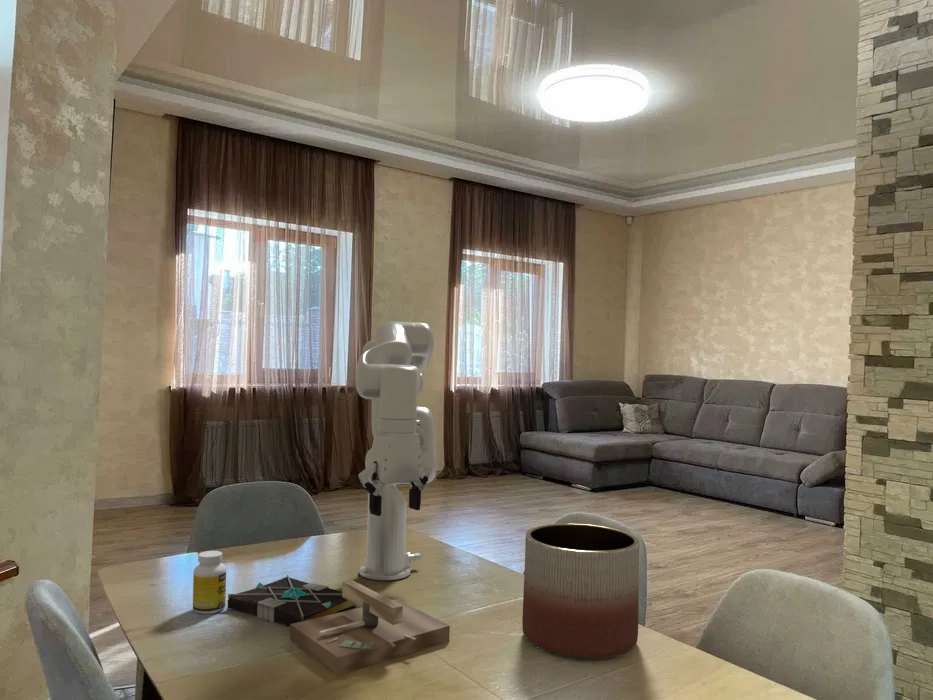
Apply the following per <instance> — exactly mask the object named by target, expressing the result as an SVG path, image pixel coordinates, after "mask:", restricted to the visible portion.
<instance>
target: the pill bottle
mask: <svg viewBox="0 0 933 700" xmlns="http://www.w3.org/2000/svg"><path fill="white" fill-rule="evenodd" d="M197 559H198V561H197V562H198V563H199V564H198V565H197V566H195V568H194V569H193V574H192V575H193V578H192V579H193V581H192V582H193V583H192V610H193V612H195V613H197V614H201V615H211V614H216V613H219V612H221V611H223V610H224V609H225V608H226V601H227V599H226V597H227V596H226V594H227V593H226V592H227V567H226V565H225V564H224V563H223V562H222V563H221V561H222V560H223V552H221V551H219V550H207V551H202V552H200V553H199V554H198V557H197Z"/></svg>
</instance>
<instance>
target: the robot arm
mask: <svg viewBox="0 0 933 700" xmlns="http://www.w3.org/2000/svg"><path fill="white" fill-rule="evenodd" d="M434 338H435V337H434V333H433V331H432V328H431V327H430V326H429V325H428V324H427V323H424V322H414V321H412V322H411V321H387V322H384V323H382V324H380V325H379V326H378V327H377V329H376V330H375V334H374V339H372V340H369V341H367V342H365V344H364V345H363V348H362V354H360V356H359V358H358V360H357V364H356V370H355V387H356V388H355V389H356V391H357V394H358V395H359V397H361V398H362V399H365V400H371V433H372V437H373V442H372V446H371V448H370V449H369V450H368V451H367V452H366V454H365V460H364V462H365V463H364V465H365V466H364V467H365V469H363V470H362V471H361V472H359V473H358V474H357V475H358V476H357V477H358V479H359V481H360V483H361V485H362V488H363V489H364V490H365V491H366V492H367V525H366V526H367V527H366V555H365V557H366V561H365V563H364V564H363V565H361V566H360V568H359V575H360V576H361V577H363V578H365V579H368V580H374V581H396V580H401V579H405V578H407V577H409V575H411V573H412V567H411V566H410V565H409V564H411V563H412V562H414V563H415V562H419V561H421V560H422V555H421V553H420V552H416V553H415V552H414V553H412V554H411V552H409V551H408V552H406V535H407V533H406V532H407V529H406V528H407V527H406V526H407V500H406V498H405V496H404V495H403V493H402V492H401V491H400V490H399V488H397V485H404V484H406V485H408V484H409V485H410V487H411V488H409V490H408V491H409V492H408V495H409V496H408V507H409V509H412V510H415V511H420V510H421V504H422V503H421V501H422V491H423V490H424V489H425V485H426V484H429V483H432V482H433V481H434V480H435V477H436V474H437V450H436V448H437V447H436V431H435V429H436V427H435V420H434V416H433V413H432V411H431V409H429V408H428V407H425V406H421V405H420V406H419V405H418V397H419V395H420V394H421V393H422V392H423V389H424V388H423V387H424V374H423V373H422V372H424V371H425V370H427V368H428V367H429V365H430V361H431V358H432V355H433V351H434V345H435V339H434Z"/></svg>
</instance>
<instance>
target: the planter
mask: <svg viewBox="0 0 933 700" xmlns="http://www.w3.org/2000/svg"><path fill="white" fill-rule="evenodd" d="M524 544H525V546H524V551H525V552H524V576H523V595H522V597H523V599H522V600H523V601H522V626H521V627H522V633H523V635H524V637H525V638H526V639H527V641H529V642H530V643H531V644H533V645H534V646H535V647H537V648H538V649H540V650H542V651H544V652H546V653H548V654H551V655H554V656H557V657H561V658H565V659H566V658H567V659H571V660H577V661H578V660H581V661H597V660H598V661H601V660H609V659H613V658H617V657H620V656H621V655H624V654H626V653H628V652H630V651H631V650H632V649H634V648H635V647H636V646H637V642H638V637H639V592H640V591H639V588H640V587H639V584H640V583H639V577H640V575H639V574H640V573H639V572H640V569H639V568H640V540H639V539H638V537H637V536H635V535H633V534H631V533H630V532H626V531H625V530H621V529H617V528H613V527H610V526H603V525H597V524H587V523H574V522H573V523H571V522H570V523H567V522H566V523H550V524H543V525H538V526H535V527H532V528H530V529H529V530H527V531H526V533H525V543H524Z"/></svg>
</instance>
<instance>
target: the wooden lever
mask: <svg viewBox="0 0 933 700" xmlns="http://www.w3.org/2000/svg"><path fill="white" fill-rule="evenodd" d="M341 586H342V589H341V591H342V597H343V598H345V599H347V600H349V601H351V602H352V604H353V605H356V606H357V607H359V608H363V619H362V621H358V622H354V623H350V624H346V625H342V626H338V627H334V628H330V629H326V630H322V631H319V635H321V636H323V635H327V634H331V633H335V632H339V631H342V630H346V629H350V628H354V627H358V626H362V625H364V626H376V625H378V618H381V619H383V620H385V621H387V622H388V623H390V624H392V625H395V624H399V623H402V612H403V606H402V605H400V604H398V603H396V602H394V601H392V600H393V599H390V598H388V597H387V596H384V595H383V594H380V593H378V592H376V591H374V590H372V589H371V588H368V587H366V586H365V585H363V584H361V583H360V582H359V583H358V582H356V581H355V580H353V579H349V580H344V581H342V585H341Z"/></svg>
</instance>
